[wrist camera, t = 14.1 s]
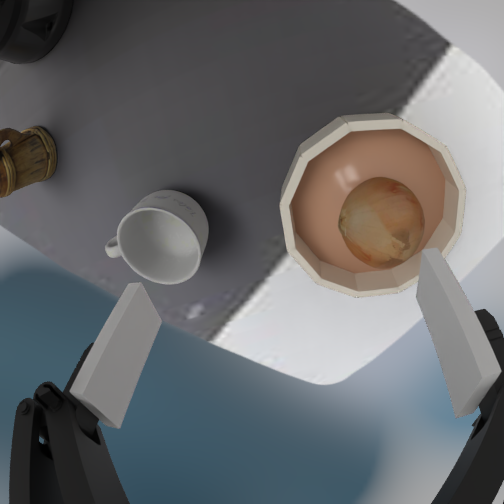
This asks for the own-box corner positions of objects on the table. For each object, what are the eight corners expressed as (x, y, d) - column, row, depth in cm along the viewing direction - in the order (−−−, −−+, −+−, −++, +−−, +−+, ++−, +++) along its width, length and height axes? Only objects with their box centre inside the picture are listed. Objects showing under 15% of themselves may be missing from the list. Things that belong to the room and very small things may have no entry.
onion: (327, 173, 34) (338, 208, 26) (407, 161, 32) (441, 193, 23) (338, 244, 39) (347, 294, 31) (410, 233, 37) (436, 279, 28)
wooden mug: (69, 109, 34) (-30, 148, 19) (52, 187, 41) (-26, 246, 26) (32, 92, 32) (-61, 124, 17) (19, 167, 40) (-58, 216, 24)
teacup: (213, 182, 38) (195, 208, 31) (218, 255, 44) (204, 291, 37) (118, 182, 39) (86, 207, 33) (131, 249, 45) (107, 280, 38)
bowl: (269, 124, 33) (265, 131, 29) (448, 112, 28) (467, 119, 24) (295, 280, 44) (295, 303, 40) (439, 264, 39) (451, 285, 35)
